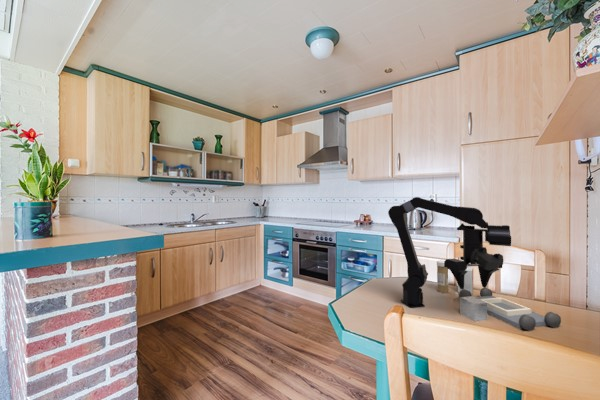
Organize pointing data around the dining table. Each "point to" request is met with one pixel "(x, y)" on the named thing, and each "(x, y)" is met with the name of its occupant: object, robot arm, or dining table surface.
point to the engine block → (473, 308)
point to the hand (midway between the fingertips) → (473, 288)
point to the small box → (468, 280)
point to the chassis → (514, 312)
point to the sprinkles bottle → (442, 277)
